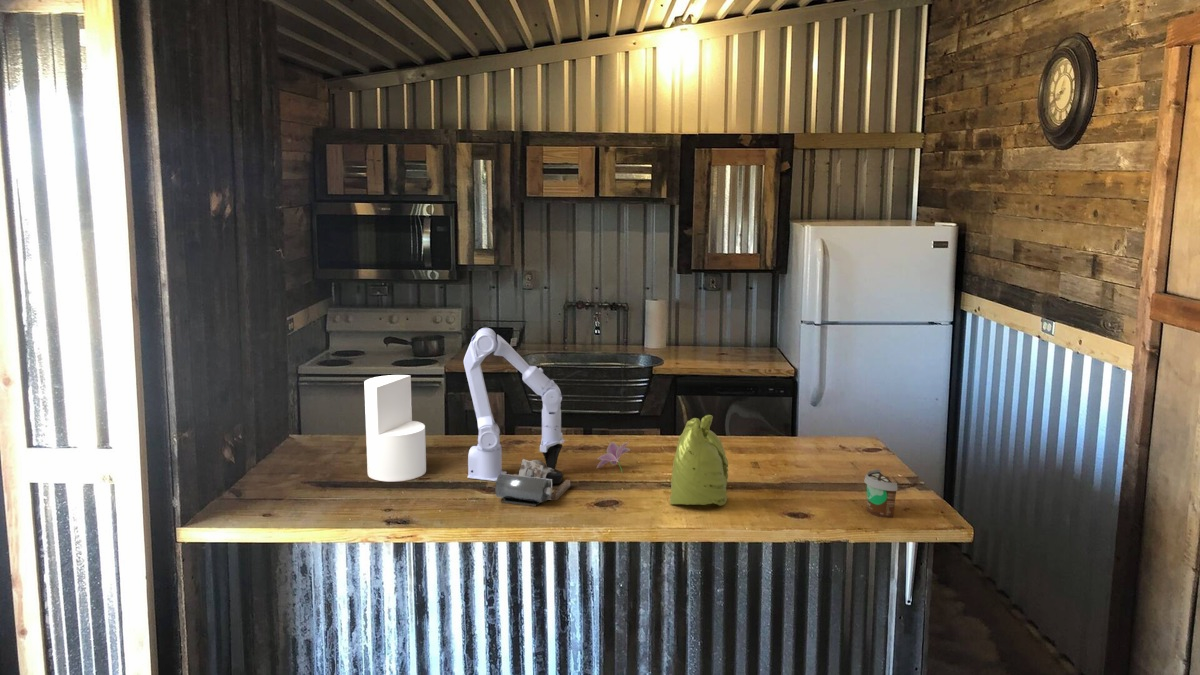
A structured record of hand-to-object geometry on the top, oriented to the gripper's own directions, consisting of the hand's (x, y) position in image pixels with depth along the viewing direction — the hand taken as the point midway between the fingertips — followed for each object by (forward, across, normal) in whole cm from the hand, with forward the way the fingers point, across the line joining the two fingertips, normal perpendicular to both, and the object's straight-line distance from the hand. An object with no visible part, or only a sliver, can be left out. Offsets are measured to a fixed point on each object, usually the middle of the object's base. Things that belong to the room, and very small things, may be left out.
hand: (551, 468), depth 272 cm
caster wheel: (+2, -7, 0) cm, 7 cm away
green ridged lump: (+2, -4, -46) cm, 46 cm away
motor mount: (+2, -18, 0) cm, 18 cm away
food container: (+2, -2, -93) cm, 93 cm away
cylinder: (+2, -12, +45) cm, 47 cm away
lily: (+2, +11, -16) cm, 20 cm away
